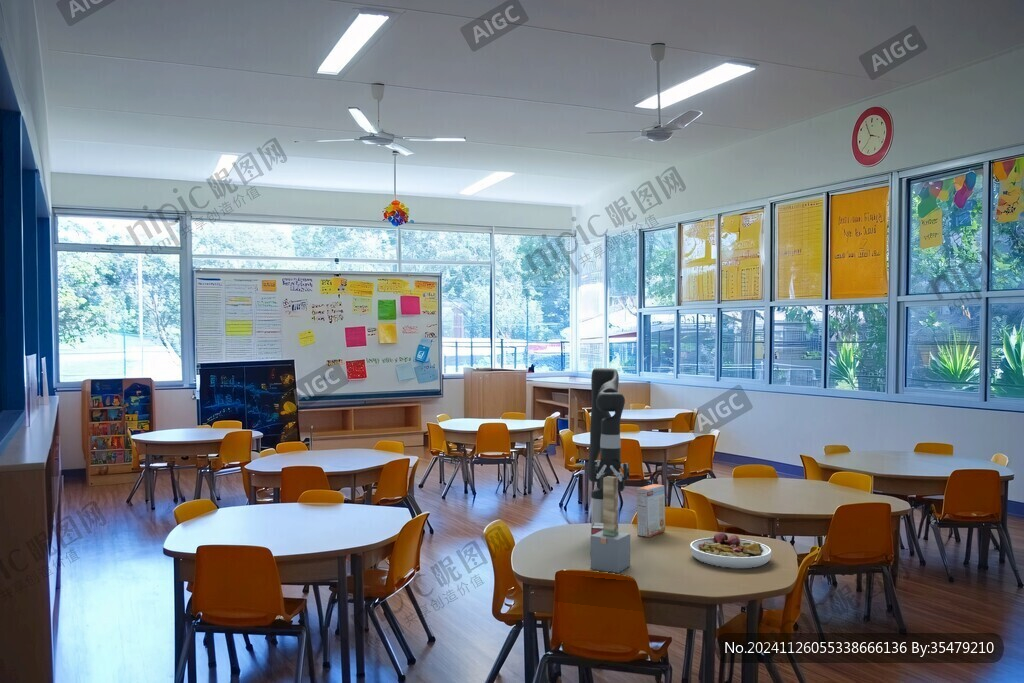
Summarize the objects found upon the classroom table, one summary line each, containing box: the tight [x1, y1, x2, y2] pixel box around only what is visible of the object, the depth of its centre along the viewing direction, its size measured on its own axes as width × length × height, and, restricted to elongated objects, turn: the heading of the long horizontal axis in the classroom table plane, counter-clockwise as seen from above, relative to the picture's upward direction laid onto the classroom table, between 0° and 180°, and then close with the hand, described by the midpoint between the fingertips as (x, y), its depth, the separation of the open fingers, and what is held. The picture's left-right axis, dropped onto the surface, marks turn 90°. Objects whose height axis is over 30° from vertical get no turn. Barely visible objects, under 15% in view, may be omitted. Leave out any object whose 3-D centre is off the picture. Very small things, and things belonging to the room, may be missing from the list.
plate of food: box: [689, 531, 772, 569], centre depth 289 cm, size 30×30×8 cm
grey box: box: [590, 530, 631, 574], centre depth 278 cm, size 12×11×12 cm
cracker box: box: [636, 483, 666, 538], centre depth 329 cm, size 14×6×21 cm, turn 136°
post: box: [602, 476, 619, 537], centre depth 278 cm, size 4×4×24 cm
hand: (610, 489), depth 278 cm, fingers open, 8 cm apart
